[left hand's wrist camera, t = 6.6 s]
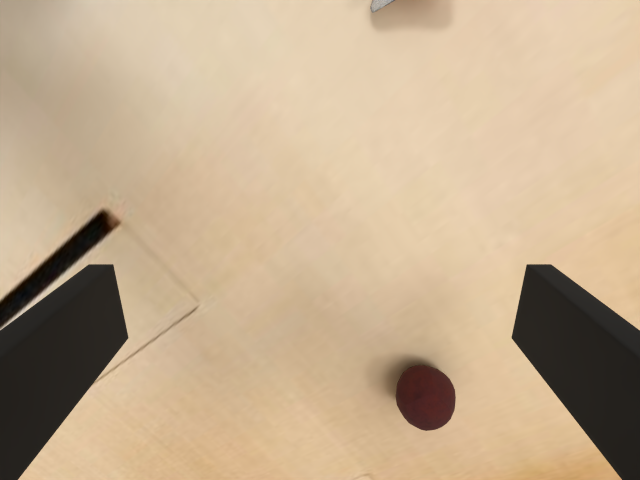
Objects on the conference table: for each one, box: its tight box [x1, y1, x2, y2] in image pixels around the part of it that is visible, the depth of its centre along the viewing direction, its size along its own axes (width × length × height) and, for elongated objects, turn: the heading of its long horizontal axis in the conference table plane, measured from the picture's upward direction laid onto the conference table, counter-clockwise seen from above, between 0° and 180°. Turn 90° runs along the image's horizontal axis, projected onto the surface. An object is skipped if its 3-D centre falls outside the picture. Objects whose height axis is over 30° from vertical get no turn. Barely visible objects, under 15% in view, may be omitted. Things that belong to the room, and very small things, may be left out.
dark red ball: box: [396, 365, 455, 431], centre depth 49 cm, size 7×8×7 cm
